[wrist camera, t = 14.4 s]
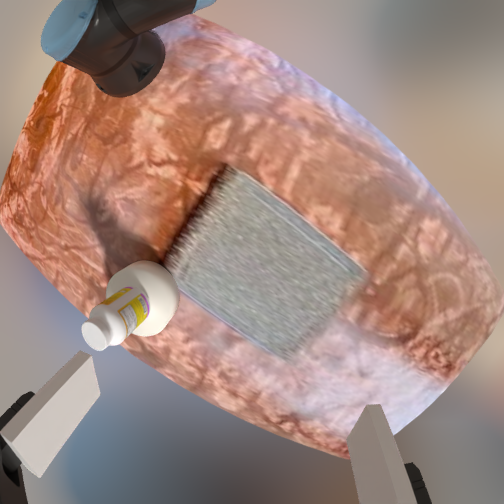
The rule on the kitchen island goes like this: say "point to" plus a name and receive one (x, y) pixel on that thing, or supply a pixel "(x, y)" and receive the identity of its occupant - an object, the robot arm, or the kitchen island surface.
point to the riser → (149, 293)
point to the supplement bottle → (116, 318)
